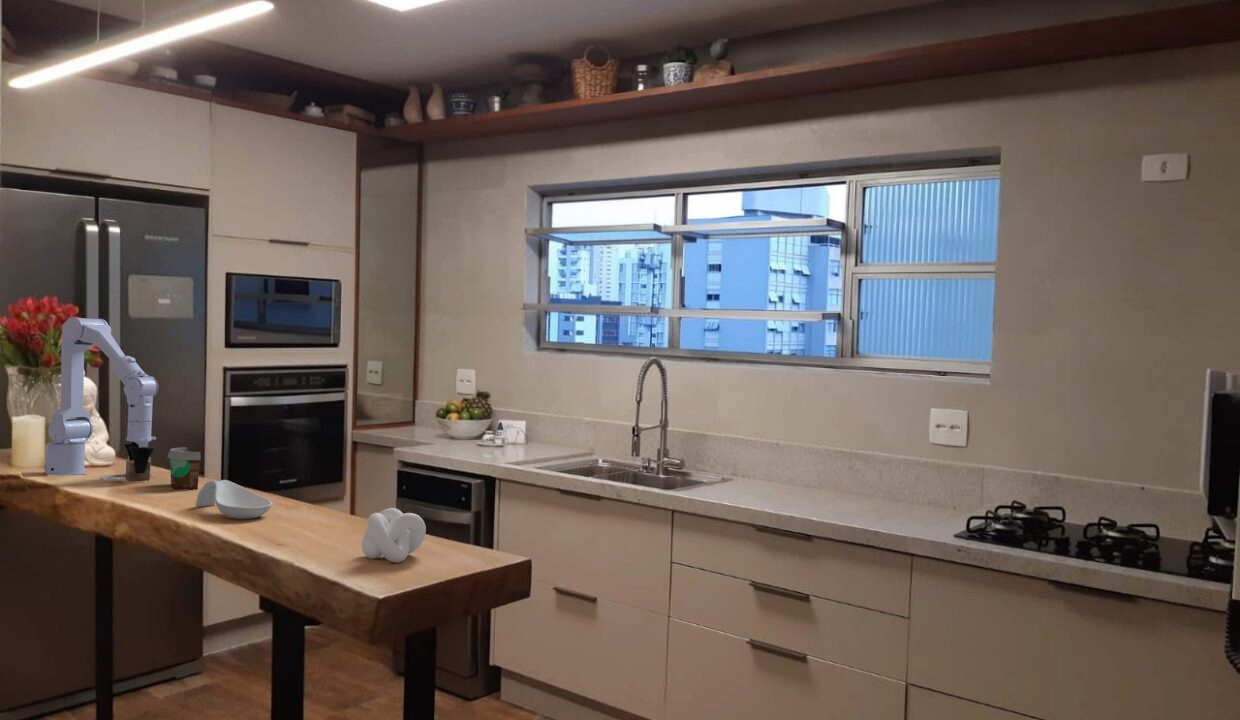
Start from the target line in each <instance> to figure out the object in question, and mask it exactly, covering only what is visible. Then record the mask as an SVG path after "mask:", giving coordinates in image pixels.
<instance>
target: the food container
mask: <svg viewBox="0 0 1240 720" xmlns="http://www.w3.org/2000/svg"><path fill="white" fill-rule="evenodd" d="M167 459H169V463H170V464H169V465H170V486H171V489H173V488H177V489H176V490H180V489H189V491H193V490H192V489H196V490H199V488H198V486H199V475H200V464H201V463H200V461H201V459H202V457H201V451H191V450H190V451H189V450H188V447H187V446H185V447H184V446H183V447H174V448H170V449H169V451H168V454H167ZM190 489H191V490H190Z"/></svg>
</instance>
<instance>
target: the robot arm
mask: <svg viewBox="0 0 1240 720" xmlns="http://www.w3.org/2000/svg"><path fill="white" fill-rule="evenodd" d="M94 345H96V346H97V347H98V349H100V350H101V351H102V352H103V354H105V356H106V357H107V358H108V359H109V360H110V361H111V362H112V365H111V369H112V371H113V372H114V373H115V374H116V376H117V377H118V378H119V380H120V381H121V383H123V385H124V386H123V391H124V392H123V393H124V395H125V396H126V403H127V405H128V409H127V411H128V414H127V433H126V434H127V435H126V442H130V443H124V444H123V447H124V448H125V449H126V452H127V457H129V461H131V460H134V467H135V472H136V473H145V471H146V467H147V463H148V460H149V457H150V458H151V454H152V453H153V451H154V450H155V448H154V447H153V446H152V447H149V442H152V441H156V440H157V437H156V436H152V428H153V427H152V424H153V423H152V421H153V404H154V403H153V401H154V397H155V396H156V395H157V393H158V391H159V383H158V381H157V379H156V378H155V377H154V376H151V375H148V374H146V372H144V370H143V369H142V368H141V367H140V365H139V364H138V363H137V362H136V361H137V360H136V358H135V357H132V356H130V355H125V353H124V352H123V350H122V349H121V347H120V346H119V344H118V343H117V341H116V340H115V338H114V337H113V335H112V327H111V326H110V325H109V324H108V322H107V321H106V320H105V319H103V318H87V317H86V318H83V317H81V318H80V317H74V316H73V317H69V318H68V319H67V320H66V321H65V322H64V323H63V324H62V325H61V348H60V349H61V351H60V353H61V356H60V360H61V362H60V363H61V364H60V368H61V369H60V408H58V409H57V410H56V411H54V412H53V413H52V414H51V415H50V423H49V426H48V429H47V430H48V431H47V432H48V437H49V439H50V440H51V441H52V442H50V443H49V442H48V443H46V446H45V463H44V468H43V469H44V473H45V472H46V474H47V475H56V476H55V477H59V476H61V477H64V476H65V475H66V476H83V475H84V476H86V475H88V473H87V472H86V470H85V463H86V462H85V459H86V443H88V442H89V439H90V438H91V437H92V435H93V433H94V426H93V423H92V419H91V418H92V416H91V415H92V414H91V413H90V411H88V410H86V408H85V407H84V391H85V389H84V384H85V383H84V381H85V380H84V377H85V374H84V373H85V370H84V369H85V352H86V351H87V350H88V349H90V347H93V346H94ZM46 474H45V475H46ZM47 475H46V476H47ZM57 475H58V476H57Z"/></svg>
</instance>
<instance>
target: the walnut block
mask: <svg viewBox="0 0 1240 720" xmlns="http://www.w3.org/2000/svg"><path fill="white" fill-rule="evenodd" d="M125 474H126V475H125V478H126V480H127V481H129V482H131V481H150V479H151V478H150V477H151V476H150V475H151V470H150V462H149V461H148V463H147V467H146V471H145V473H136V472H135V467H134V460H131V461H128V460H126V462H125Z"/></svg>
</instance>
